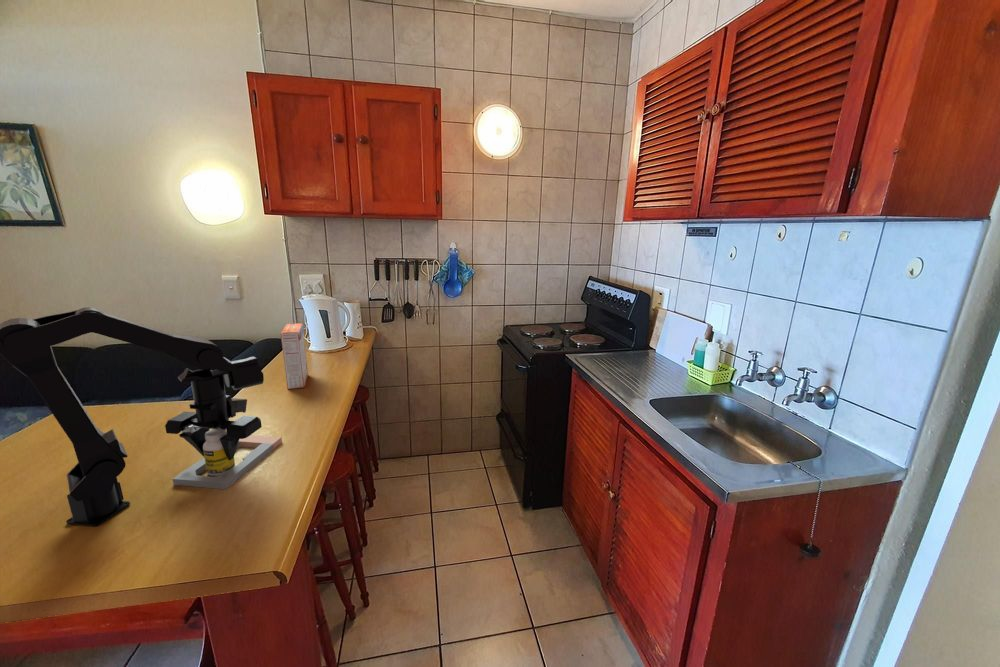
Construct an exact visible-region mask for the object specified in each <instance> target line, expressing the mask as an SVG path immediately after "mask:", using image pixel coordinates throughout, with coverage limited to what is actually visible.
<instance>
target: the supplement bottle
mask: <svg viewBox="0 0 1000 667" xmlns="http://www.w3.org/2000/svg"><path fill="white" fill-rule="evenodd" d="M226 432H227V431H226V429H209V431H207V432H206V433H205V439H206V442H205V443H204V444H203V452H204V457H203V458H205V464H206V470H205V471H206V473H207V474H208V475H209V476H210V477H215V476H218V475H222V474H225V473H227V472H229V471H230V470H231V469H233V468H234V467H235V466H236V463H235V457H234V458H233V459H232V460H228V458H227V456H226V454H225V451H224V449H223V446H222V444H221V441H220V438H221V437H223V436H224V435H226Z"/></svg>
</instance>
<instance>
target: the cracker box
mask: <svg viewBox="0 0 1000 667" xmlns="http://www.w3.org/2000/svg"><path fill="white" fill-rule="evenodd" d="M280 338H281V347H282V356H283V363H284V364H283V366H284V371H285V379H286V389H287V390H293V389H301V388H303V389H304V388H305V387H306V383H307V380H308V376H309V370H308V359H307V350H306V342H305V341H306V340H305V332H304V323H300V322H299V323H287V324H286V325H285V326H284V328H283V329H282V331H281V332H280Z"/></svg>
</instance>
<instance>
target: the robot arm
mask: <svg viewBox="0 0 1000 667" xmlns="http://www.w3.org/2000/svg"><path fill="white" fill-rule="evenodd" d="M90 333H91V334H92V333H93V334H97V335H101V336H104V337H107V338H111V339H114V340H118V341H121V342H126V343H129V344H133V345H135V346H139V347H144V348H146V349H150V350H153V351H156V352H161V353H164V354H167V355H169V356H171V357H173V358H175V359H177V360H179V361H181V362H183V363H185V364H187V365H189V366H192V367H194V368H196V370H191V369H189V368H188V367H187V368H185V369H184V371H183V372H182V373H181V374H180V375H177V379H178V380H179V381H180V382H181V383H183V384H186V383H190V385H191V390H192V396H193V402H191V403H189V409H191V410H195V411H183V412H181V413H179V414H177V415H175V416H173V417H172V418H169V419H168V420H166V423H165V425H164V427H165V432H166V434H172V435H178V436H179V437H180V438H181V439H184V440H185V441H186V442H187V443H189V444H190V445H191V446H192V447H193V448H194V449H195V450H196V451H197V452H198V453H199V454H200V455H201V456H202V458H204V452H203V444H204V443H205V442H206V439H205V433H206V432H207V431H209V430H212V429H226V435H224V436H223V437H221V438H220V441H221V444H222V446H223V449H224V451H225V454H226V456H227V458H228V460H232V459H233V458H234V459H235V454H236V451H237V449H238V448H237V445H238V442H239V439H244V438H247V437H248V436H250V435H254V433H256V432H257V431H258V430H260V429H261V428H262V427H263V426H262V419H261V418H260V417H258V416H253V415H252V416H251V415H242V416H240V417H239V418H238V419H236V420H230V419H231V418H234V417H236V416H237V414H238V413H247V412H246V411H247V407H248V406H247V404H248V398H247V399H246V398H235V397H234V398H233V397H232V396H231V394H230V395H228V394H226V388H225V385H226V387H227V388H232V390H234V391H238V390H242V389H247V388H252V387H254V386H259V385H262V384H263V383H264V379H265V378H264V376H265V375H264V372H263V371H262V368H261V365H260V363H259V359H258V358H257V357H256V356H250V357H247V358H243V359H237V360H232V361H231V360H230V359H228V358H226V357H224V356H223V350H222V349H221V347H219V346H218V345H217V344H215V343H214V342H212V341H210V340H209V339H206V338H202V337H195V336H188V335H180V334H175V333H174V334H173V333H169V332H165V331H162V330H161V329H160V330H159V329H156V328H154V327H151V326H147V325H144V324H141V323H137V322H134V321H131V320H129V319H125V318H122V317H119V316H115V315H113V314H109V313H107V312H104V311H101V310H99V309H97V308H94V307H90V306H89V307H82V308H79V309H76V310H71V311H67V312H62V313H55V314H51V315H45V316H41V317H36V318H33V319H31V318H24V317H16V318H10V319H6V320H4V321H2V322H0V356H1V357H2V358H3V359H4V360H5V361H6V362H7V363H8V364H9V365H10V366H12V368H14V369H16V370H17V371H18V372H20V373H21V374H22V375H23V376H25V377H26V378H27V379H28V380H29V381H30V383H31V384H32V386H33V388H34V389H35V390H36V392H37V393H38V395H39V396H40V397H41V399H42V400H43V402H44V403H45V405H46V407H47V408H48V410H49V411H50V413H51V414H52V416H53V417H54V418H55V420H56V421H57V423H58V424H59V426H60V427H61V428H62V430H63V432H64V433H65V434H66V436H67V437H68V439H69V440H70V443H71V444H72V447H73V449H74V450H73V451H74V452H75V456H76V458H77V463H76V464H75V465H74V467H72V468H71V470H69V472H67V473H66V480H67V485H68V492H69V494H67V495H66V498H67V502H68V506H69V508H70V513H71V517H70V518H68V519H66V521H65V522H66V525H76V526H77V525H78V526H87V527H88V526H90V527H97V526H100V525H102V524H103V523H104V522H106V521H108V520H109V519H111V518H112V517H113V516H115V515H116V514H118V513H120V512H121V511H123V510H124V509H125V508H127V507H128V506H130V505H131V502H130V501H126V500H125V501H124V495H123V489H122V485H121V482H120V481H118V476H120V475H121V473H123V471H124V470H125V468H126V461H125V458H128V454H127V451H126V449H125V446H124V444H123V443H122V442H120V441H119V440H118V438H117V436H116V433H115V430H114V429H110V430H109V431H107V432H105V433H104V432H103V431H102V430H101V429H99V428H98V427H97V425H96V424H95V422H94V421H93V420H92V418H91V416H90V415H89V413H88V412H87V410H86V408H85V407H84V405H83V404H82V402H81V400H80V399H79V397H78V396H77V394H76V392H75V391H74V389H73V388H72V387H71V384H70V383H69V382H68V380H67V378H66V377H65V375H64V374H63V372H62V371H61V369H60V368H59V367H58V363H57V361H56V357H55V355H54V351H53V348H52V346H56V345H60V344H62V343H64V342H68V341H70V340H72V339H73V340H74V339H75V338H78V337H80V336H84V335H87V334H90ZM212 369H213V370H212ZM236 448H237V449H236Z"/></svg>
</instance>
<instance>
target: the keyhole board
mask: <svg viewBox="0 0 1000 667" xmlns="http://www.w3.org/2000/svg"><path fill="white" fill-rule="evenodd" d="M282 443H283V438H282V436H271V435H258V434H257V435H256V434H251V435H250V436H248V437H247V438H244V439H239V442H238V445H237V448H236V450H238V449H239V448H240V447H243V448H253V450H251V451H250V452H249V453H248V454H246V455H245V456H243V457H242V460H241V461H240V462H239V463H238V464H237V465H236V464H235V467H234V468H233V469H231V470H230V471H229V472H227V473H225V474H222V475H218V476H210V475H209V476H208V475H207V476H206V475H200V474H202V473H203V472H204V471H207V470H206V464H205V458H204V457H202V458H200V460H198V461H197V462H195V463H193V464H192V465H190V466H189V467H188V468H186V469H185V470H183V471H182V472H180V473H179V474H178V475H176V476H174V477H173V478H172V483H173V486H183V487H184V486H185V487H197V488H207V489H208V488H209V489H217V490H218V489H220V490H221V489H222V490H226V489H228V488H229V487H230V486H232V485H233V484H234V483H235V482H236V481H237V480H239V479H240V478H241V477H242V476H243V475H244V474H246V473H247V472H248V471H249V470H250V469H252V468H253V467H254V466H256V465H257V463H259V462H260V461H261V460H262V459H264V458H265V457H266V456H267V455H268V454H270V453H271V452H272V451H273V450H275V449H276V448H277V447H278V446H280V444H282ZM201 472H202V473H201Z"/></svg>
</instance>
